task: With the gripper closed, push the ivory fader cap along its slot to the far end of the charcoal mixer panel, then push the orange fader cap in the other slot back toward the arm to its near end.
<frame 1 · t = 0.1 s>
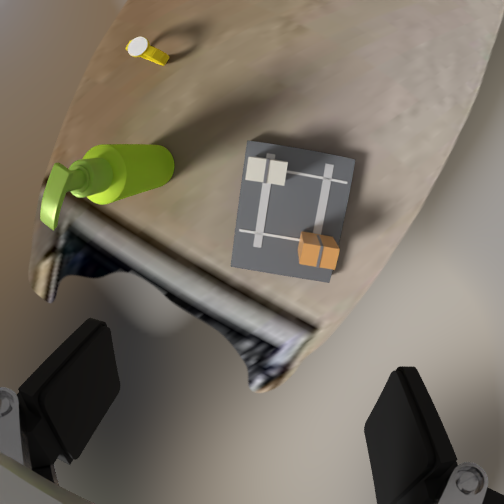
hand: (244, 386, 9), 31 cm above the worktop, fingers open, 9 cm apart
soap dispenser: (153, 169, 38), on the worktop
fader orange: (317, 249, 34), point 5 cm above the worktop, slide at 0.0 cm
mixer panel: (291, 211, 38), on the worktop
fader ivory: (267, 169, 32), point 5 cm above the worktop, slide at 0.0 cm
watch: (156, 58, 33), on the worktop
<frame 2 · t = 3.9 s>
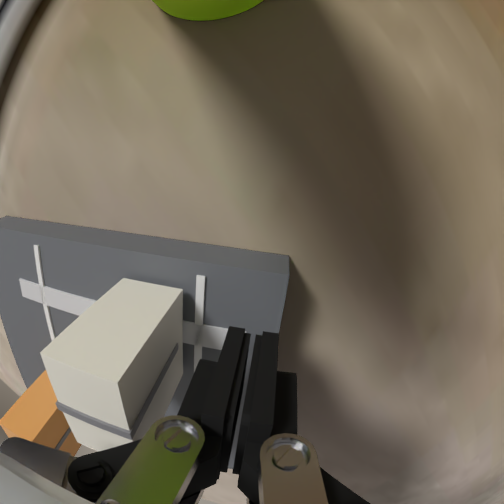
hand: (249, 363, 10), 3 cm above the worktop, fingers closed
fader orange: (49, 426, 11), point 5 cm above the worktop, slide at 0.0 cm
mixer panel: (119, 346, 15), on the worktop
fader ivory: (126, 368, 9), point 5 cm above the worktop, slide at 1.8 cm, touching gripper
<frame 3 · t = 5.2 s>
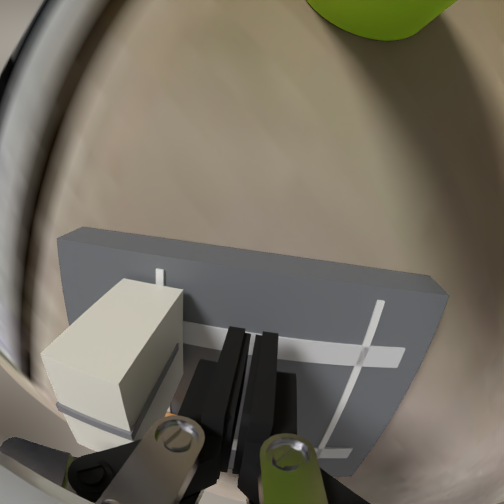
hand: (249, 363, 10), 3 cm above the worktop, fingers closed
fader orange: (154, 470, 11), point 5 cm above the worktop, slide at 0.0 cm
mixer panel: (235, 373, 14), on the worktop
fader ivory: (126, 369, 9), point 5 cm above the worktop, slide at 8.2 cm, touching gripper
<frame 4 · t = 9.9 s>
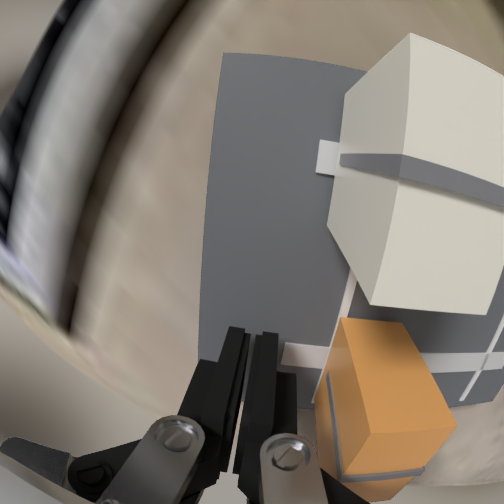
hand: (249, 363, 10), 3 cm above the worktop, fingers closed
fader orange: (369, 413, 8), point 5 cm above the worktop, slide at 1.1 cm, touching gripper
mixer panel: (409, 263, 11), on the worktop
fader ivory: (408, 172, 6), point 5 cm above the worktop, slide at 8.1 cm
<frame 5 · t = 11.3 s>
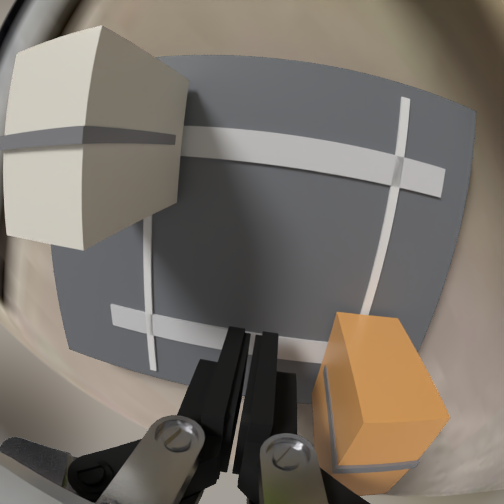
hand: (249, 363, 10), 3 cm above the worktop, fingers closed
fader orange: (365, 406, 8), point 5 cm above the worktop, slide at 8.1 cm, touching gripper
mixer panel: (239, 236, 12), on the worktop
fader ivory: (105, 137, 6), point 5 cm above the worktop, slide at 8.1 cm
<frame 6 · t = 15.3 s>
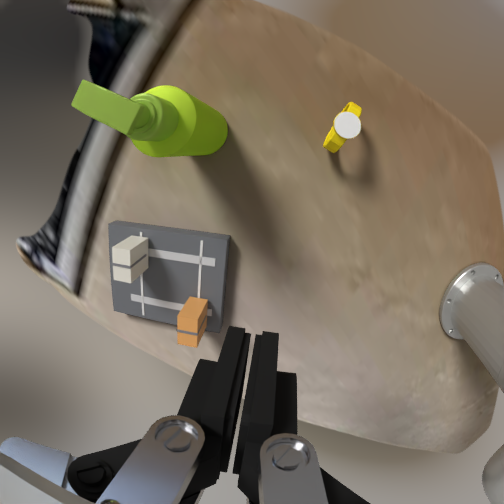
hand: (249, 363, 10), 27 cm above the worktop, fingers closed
soap dispenser: (200, 129, 33), on the worktop
fader orange: (192, 321, 36), point 5 cm above the worktop, slide at 8.1 cm
mixer panel: (167, 274, 40), on the worktop
fader ivory: (130, 258, 34), point 5 cm above the worktop, slide at 8.1 cm
watch: (337, 129, 32), on the worktop
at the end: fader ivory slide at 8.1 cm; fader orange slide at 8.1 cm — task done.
